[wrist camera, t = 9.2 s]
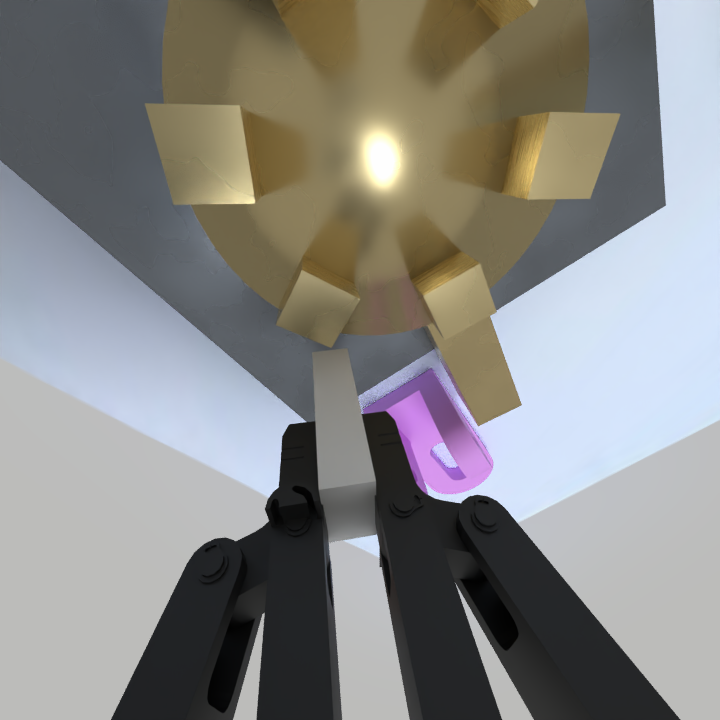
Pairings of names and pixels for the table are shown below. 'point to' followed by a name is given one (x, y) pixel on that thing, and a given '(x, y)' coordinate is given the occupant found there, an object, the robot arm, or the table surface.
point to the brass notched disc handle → (380, 158)
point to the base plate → (178, 222)
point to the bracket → (435, 435)
